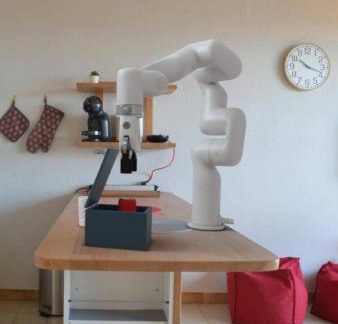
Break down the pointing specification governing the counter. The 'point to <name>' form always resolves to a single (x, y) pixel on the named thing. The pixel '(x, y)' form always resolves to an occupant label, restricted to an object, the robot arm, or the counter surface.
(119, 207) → the beverage can
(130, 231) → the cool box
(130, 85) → the robot arm
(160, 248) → the counter surface
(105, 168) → the lid
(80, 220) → the white cup
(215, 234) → the counter surface
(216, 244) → the counter surface
